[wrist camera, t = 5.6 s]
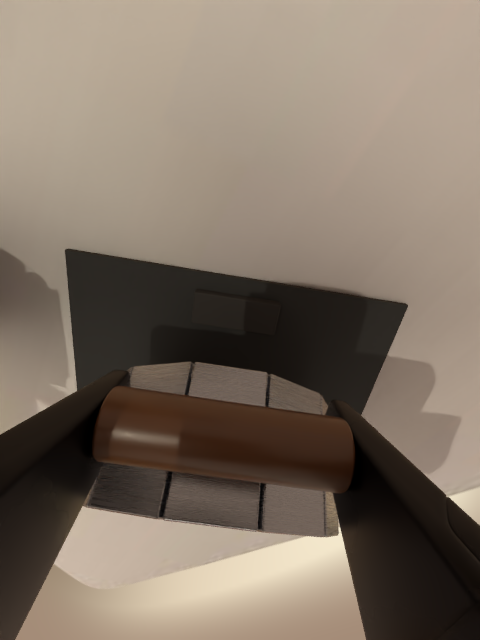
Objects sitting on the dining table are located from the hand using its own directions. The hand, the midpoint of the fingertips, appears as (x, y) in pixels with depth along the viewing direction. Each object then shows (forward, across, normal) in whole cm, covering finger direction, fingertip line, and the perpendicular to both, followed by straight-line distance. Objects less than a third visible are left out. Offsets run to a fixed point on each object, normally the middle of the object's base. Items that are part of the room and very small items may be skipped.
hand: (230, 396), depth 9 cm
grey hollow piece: (+4, 0, +4) cm, 6 cm away
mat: (+9, 0, +8) cm, 13 cm away
